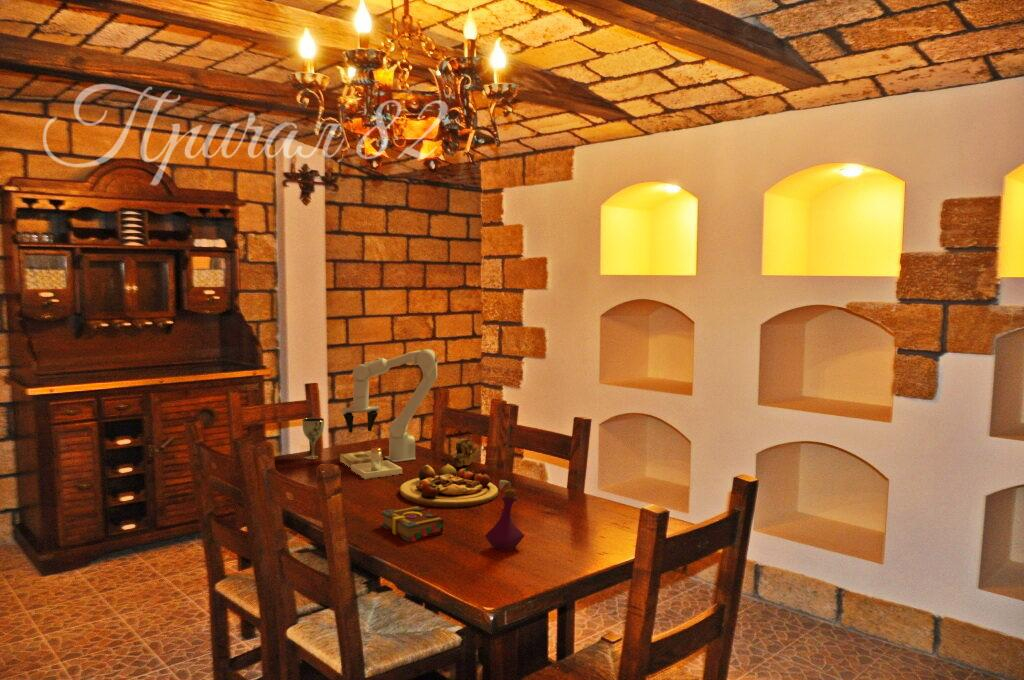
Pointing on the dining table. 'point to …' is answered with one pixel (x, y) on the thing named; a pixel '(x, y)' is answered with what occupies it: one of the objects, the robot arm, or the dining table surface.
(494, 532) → the perfume bottle
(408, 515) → the decorative book
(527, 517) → the dining table surface
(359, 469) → the tray
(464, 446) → the wooden carving
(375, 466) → the peg
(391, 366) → the robot arm
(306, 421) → the wine glass
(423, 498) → the wooden plate with food
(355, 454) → the hitch block
